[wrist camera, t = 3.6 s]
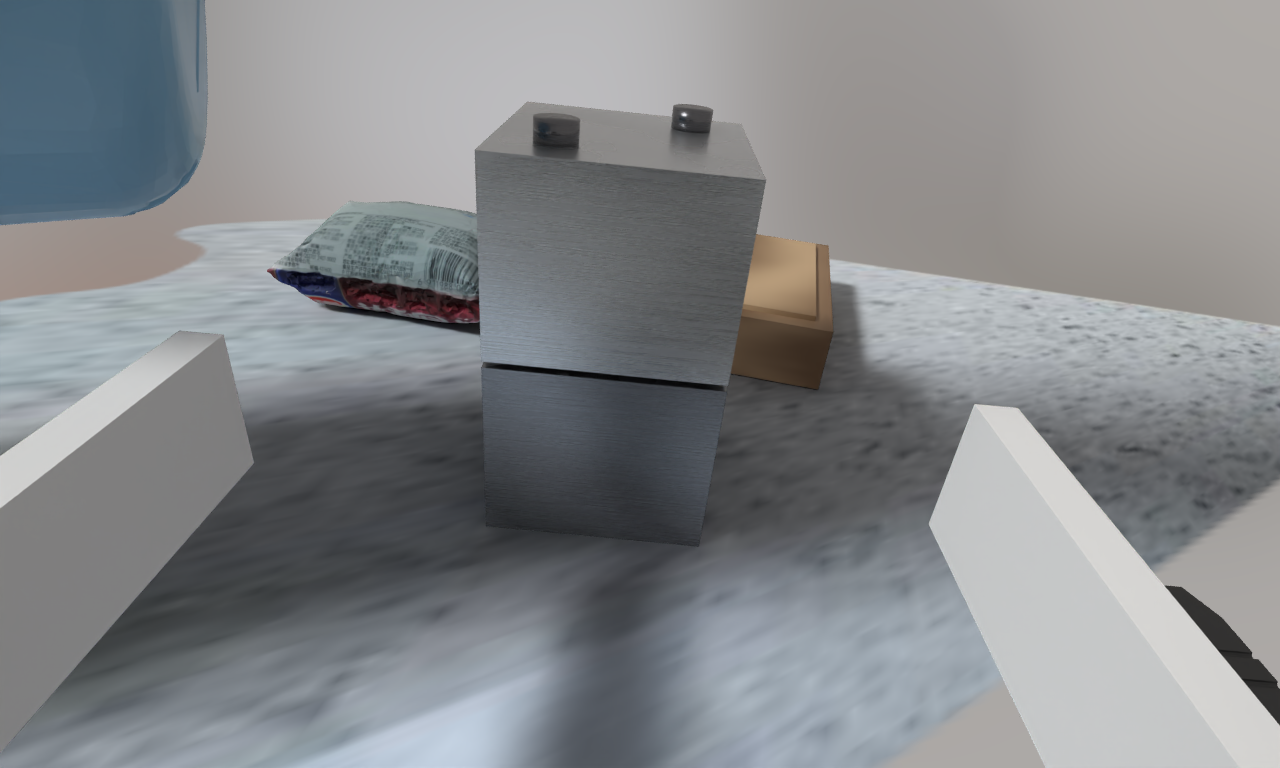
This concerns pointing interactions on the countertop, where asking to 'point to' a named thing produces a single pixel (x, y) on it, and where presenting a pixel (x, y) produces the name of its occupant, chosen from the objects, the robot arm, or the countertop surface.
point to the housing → (609, 314)
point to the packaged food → (391, 261)
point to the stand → (785, 313)
